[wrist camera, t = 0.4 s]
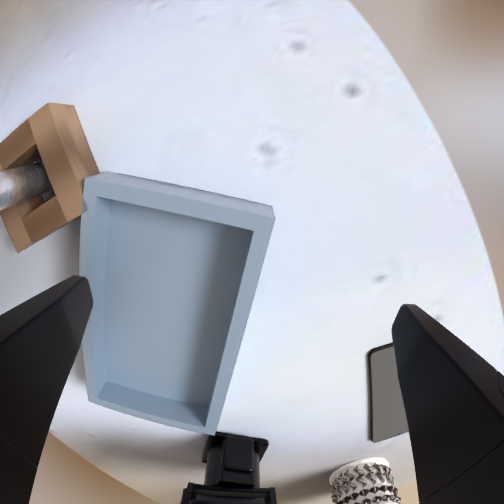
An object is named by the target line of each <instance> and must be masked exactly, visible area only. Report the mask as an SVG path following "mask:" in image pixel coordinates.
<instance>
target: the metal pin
mask: <svg viewBox="0 0 504 504" xmlns="http://www.w3.org/2000/svg"><path fill="white" fill-rule="evenodd" d="M52 191H54V189H53V187H52V185H51V182H50V180H49V177H48V174H47V172H46V169H45V167H44V164H43V162H41V163H36V164H31V165H26V166H21V167H17V168H12V169H8V170H3V171H0V211H1V210H3V209H6V208H8V207H11V206H13V205H16V204H19V203H21V202H24V201H27V200H29V199H32V198H35V197H38V196H40V195H43V194H46V193H49V192H52Z"/></svg>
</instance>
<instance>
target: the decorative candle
mask: <svg viewBox="0 0 504 504" xmlns="http://www.w3.org/2000/svg"><path fill="white" fill-rule="evenodd" d="M388 465H389V463H388V461H387V460H386V459H385V458H380V457H369V458H363V459H359V460H355V461H352V462H350V463H348V464H345V465H343V466H341V467H340V468H338V469H337V470H335V471H334V472H333V473H332V474H331V476H330V477H329V480H330V485H332V486H331V487H330V489H331V490H332V491H331V493H332V494H333V495H332V496H331V498H332V499H333V500H332V502H333V503H336V504H400V500H401V498H400V497H397V491H398V489H397V488H395V487H394V482H395V479H394V477H392V476H391V473H392V470H391V469H390V468H389V467H388ZM337 501H338V502H337Z"/></svg>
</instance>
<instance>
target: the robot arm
mask: <svg viewBox="0 0 504 504" xmlns="http://www.w3.org/2000/svg"><path fill="white" fill-rule="evenodd" d="M92 308H93V297H92V293H91V289H90V285H89V281H88V279H87V278H86V277H84V276H77V275H74V276H72V277H70V278H68V279H66V280H64V281H62V282H60V283H58V284H56V285H55V286H53V287H51V288H49V289H47V290H45V291H43V292H41V293H40V294H38V295H36V296H34V297H32V298H30V299H29V300H27V301H25V302H23V303H21V304H20V305H18V306H16V307H14V308H12V309H11V310H9V311H7V312H5V313H4V314H2V315H0V504H29V500H30V496H31V491H32V488H33V484H34V479H35V476H36V472H37V467H38V464H39V460H40V457H41V454H42V450H43V447H44V444H45V440H46V437H47V434H48V431H49V428H50V425H51V422H52V419H53V416H54V413H55V410H56V407H57V405H58V402H59V399H60V396H61V394H62V391H63V388H64V386H65V383H66V381H67V378H68V375H69V373H70V370H71V368H72V366H73V363H74V361H75V358H76V356H77V353H78V351H79V348H80V345H81V342H82V339H83V336H84V332H85V329H86V326H87V323H88V320H89V317H90V314H91V311H92ZM392 339H393V345H394V352H395V360H396V368H397V375H398V380H399V385H400V390H401V394H402V399H403V403H404V408H405V413H406V418H407V423H408V429H409V434H410V440H411V446H412V452H413V458H414V465H415V472H416V480H417V487H418V496H419V504H504V376H503V375H502V374H501V373H500V372H499V371H497V370H496V369H495V368H494V367H493V366H492V365H490V364H489V363H488V362H487V361H486V360H484V359H483V358H482V357H481V356H480V355H478V354H477V353H476V352H475V351H474V350H472V349H471V348H470V347H469V346H467V345H466V344H465V343H464V342H463V341H461V340H460V339H459V338H458V337H456V336H455V335H454V334H453V333H451V332H450V331H449V330H448V329H446V328H445V327H444V326H443V325H441V324H440V323H439V322H437V321H436V320H435V319H434V318H432V317H431V316H430V315H428V314H427V313H426V312H425V311H423V310H422V309H421V308H419V307H418V306H417V305H415V304H403V305H402V306H401V307H400V309H399V311H398V314H397V316H396V318H395V321H394V323H393V325H392ZM268 445H269V442H268V440H264V439H256V438H249V437H242V436H235V435H229V434H223V433H218V432H215V436H214V435H209V434H208V438H207V442H206V446H205V449H204V453H203V457H202V462H203V463H207V465H206V473H205V481H204V485H200V484H194V483H190V482H188V486H187V488H185V489H183V495H182V500H181V503H180V504H277V502H276V493H275V487H269V488H260V476H259V462H260V461H261V459H262V457H263V455H264V453H265V451H266V449H267V447H268Z"/></svg>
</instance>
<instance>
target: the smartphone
mask: <svg viewBox="0 0 504 504" xmlns="http://www.w3.org/2000/svg"><path fill="white" fill-rule="evenodd" d="M368 360H369V378H370V402H371V440H372V442H374V443H376V442H379V441H382V440H386V439H389V438H392V437H395V436H397V435H400V434H403V433H406V432H409V429H408V423H407V418H406V413H405V408H404V403H403V399H402V394H401V390H400V385H399V380H398V375H397V368H396V360H395V352H394V345H393V342H392V343H391V344H388V345H386V346H385V345H384V346H382V347H381V346H379V347H376V348H373V349H372V350H370V352H369V353H368Z"/></svg>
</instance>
